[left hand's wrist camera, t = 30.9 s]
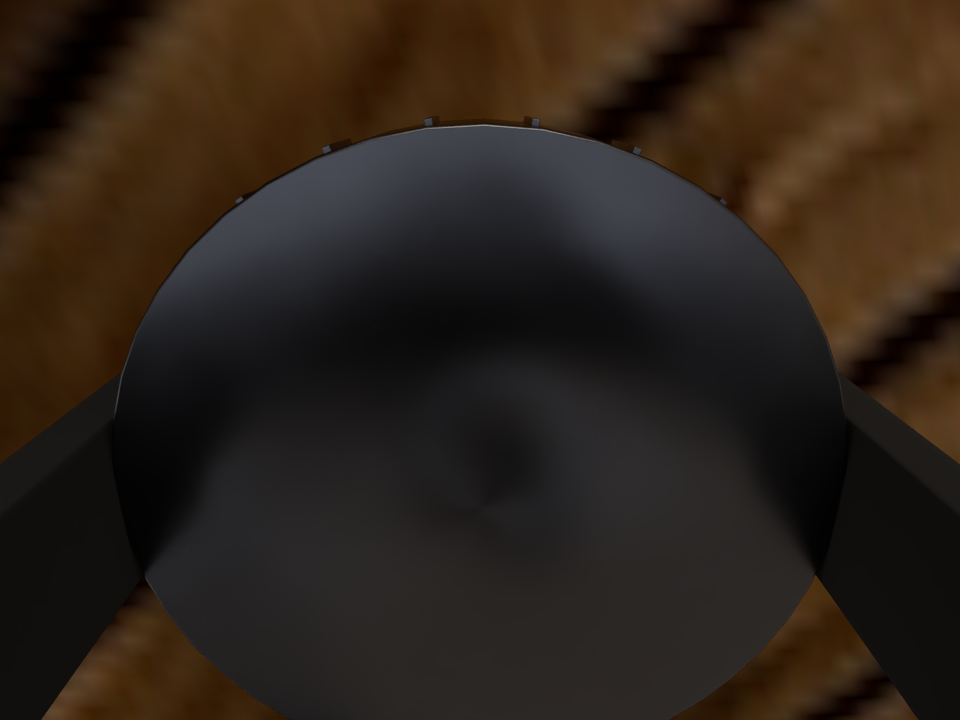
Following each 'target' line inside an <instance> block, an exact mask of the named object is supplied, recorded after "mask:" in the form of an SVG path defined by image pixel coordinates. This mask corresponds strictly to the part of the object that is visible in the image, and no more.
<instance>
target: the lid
mask: <svg viewBox="0 0 960 720" xmlns="http://www.w3.org/2000/svg"><path fill="white" fill-rule="evenodd" d="M322 150H323V152H324V154H322V155H319V156H316V157H314V158H312V159H311V160H309V161H307V162H305V163H303V164H301V165H299V166H297V167H295V168H293V169H291V170H289V171H288V172H286V173H284V174H282V175H280V176H278V177H276V178H274V179H272V180H270V181H268V182H267V183H265V184H264V185H263V186H261V187H260V188H258V189H257V190H254V191H252V192H249V193H247V194H244V195H242V196H240V197H239V198H237V199H236V200H235V201H236V202H237V204H236V205H235V206H234V207H232V208H231V209H229V210H228V211H227V212H225V213H224V214H223V215H222V216H221V217H220V218H219V219H218V220H217V221H216V222H215V223H214V224H213V225H212V226H211V227H210V228H209V229H208V230H207V231H206V232H205V233H204V234H203V235H202V236H201V237H200V238H199V239H198V240H197V241H195V242H194V243H193V244H192V245H191V246H190V247H189V248H188V249H187V251H186V252H185V253H184V255H183V256H182V257H181V259H180V260H179V261H178V263H177V264H176V265H175V266H174V267H173V269H172V271H171V272H170V273H169V275H168V276H167V277H166V279H165V280H164V281H163V283H162V284H161V286H160V287H159V288H158V290H157V292H156V293H155V295H154V297H153V299H152V301H151V303H150V305H149V307H148V309H147V311H146V312H145V314H144V316H143V318H142V320H141V322H140V324H139V326H138V328H137V330H136V332H135V334H134V337H133V340H132V343H131V346H130V349H129V352H128V355H127V358H126V361H125V364H124V367H123V370H122V373H121V377H120V383H119V388H118V394H117V400H116V406H115V412H114V417H113V469H114V476H115V482H116V487H117V492H118V497H119V502H120V506H121V511H122V515H123V519H124V523H125V527H126V531H127V535H128V539H129V542H130V545H131V547H132V549H133V551H134V554H135V556H136V558H137V560H138V563H139V565H140V567H141V569H142V572H143V574H144V576H145V578H146V580H147V582H148V584H149V585H150V587H151V588H152V590H153V592H154V593H155V595H156V596H157V598H158V600H159V601H160V603H161V604H162V606H163V608H164V609H165V611H166V613H167V614H168V615H169V617H170V618H171V619H172V620H173V622H174V623H175V624H176V625H177V626H178V628H179V629H180V630H181V631H182V633H183V634H184V635H185V636H186V638H187V639H188V640H189V641H190V642H191V644H192V645H193V646H194V647H195V648H196V649H197V650H198V651H199V652H200V653H201V654H202V655H203V656H204V657H205V658H206V659H208V660H209V661H210V662H211V663H212V664H213V665H214V666H215V667H216V668H217V669H218V670H219V671H220V672H221V673H222V674H223V675H225V676H226V677H227V678H229V679H230V680H231V681H233V682H234V683H235V684H236V685H238V686H239V687H240V688H242V689H243V690H244V691H246V692H247V693H248V694H250V695H251V696H252V697H254V698H255V699H257V700H259V701H260V702H262V703H263V704H265V705H267V706H268V707H270V708H272V709H273V710H275V711H277V712H278V713H280V714H282V715H283V716H285V717H287V718H289V719H291V720H669V719H671V718H672V717H674V716H676V715H678V714H679V713H681V712H683V711H684V710H686V709H688V708H689V707H691V706H693V705H695V704H696V703H698V702H700V701H701V700H703V699H704V698H706V697H707V696H708V695H710V694H711V693H712V692H714V691H715V690H716V689H718V688H719V687H720V686H722V685H723V684H724V683H726V682H727V681H728V680H730V679H731V678H732V677H734V676H735V675H736V674H737V673H738V672H739V671H740V670H741V669H742V668H743V667H745V666H746V665H747V664H748V663H749V662H750V661H751V660H752V659H753V658H754V657H755V656H756V655H757V654H758V653H759V652H761V651H762V650H763V649H764V647H765V646H766V645H767V644H768V643H769V641H770V640H771V639H772V638H773V637H774V636H775V634H776V633H777V632H778V631H779V630H780V628H781V627H782V626H783V625H784V624H785V622H786V621H787V620H788V619H789V617H790V616H791V614H792V613H793V611H794V610H795V608H796V607H797V605H798V604H799V602H800V600H801V599H802V597H803V596H804V594H805V593H806V591H807V590H808V588H809V587H810V585H811V583H812V581H813V579H814V577H815V574H816V572H817V570H818V568H819V566H820V564H821V562H822V560H823V558H824V555H825V553H826V551H827V549H828V546H829V543H830V540H831V536H832V532H833V528H834V524H835V520H836V516H837V512H838V507H839V503H840V498H841V493H842V488H843V483H844V479H845V474H846V469H847V422H846V415H845V409H844V402H843V395H842V388H841V382H840V378H839V375H838V372H837V368H836V365H835V362H834V359H833V356H832V352H831V349H830V346H829V343H828V340H827V337H826V335H825V333H824V331H823V329H822V327H821V325H820V323H819V321H818V319H817V317H816V315H815V313H814V311H813V309H812V307H811V305H810V303H809V301H808V299H807V297H806V295H805V293H804V292H803V291H802V289H801V288H800V286H799V285H798V284H797V282H796V281H795V279H794V278H793V276H792V275H791V274H790V272H789V271H788V269H787V268H786V267H785V265H784V264H783V262H782V261H781V260H780V258H779V257H778V255H777V254H776V253H775V252H774V251H773V250H772V249H771V248H770V247H769V246H768V245H767V244H766V243H765V242H764V241H763V240H762V239H761V238H760V237H759V236H758V235H757V234H756V233H755V232H754V231H753V230H752V229H751V227H750V226H749V225H748V224H747V223H746V222H745V221H744V220H743V219H742V218H740V217H739V216H738V215H736V214H735V213H734V212H732V211H731V210H730V209H729V208H727V207H726V206H725V205H726V204H727V202H726V201H725V200H724V199H722V198H720V197H718V196H715V195H713V194H710V193H708V192H706V191H705V190H704V189H702V188H701V187H700V186H698V185H696V184H694V183H692V182H691V181H689V180H687V179H685V178H683V177H681V176H680V175H678V174H676V173H674V172H672V171H671V170H669V169H667V168H665V167H663V166H662V165H660V164H658V163H656V162H654V161H652V160H650V159H647V158H645V157H642V156H639V155H640V153H641V151H642V149H640V148H638V147H636V146H632V145H629V144H626V143H622V142H619V141H615V140H613V141H612V143H611V145H610V144H608V143H605V142H602V141H600V140H597V139H594V138H591V137H588V136H585V135H582V134H579V133H575V132H571V131H566V130H562V129H557V128H553V127H548V126H544V125H540V119H536V118H533V117H529V116H524V122H517V121H505V120H493V119H471V120H454V121H440V120H439V116H432V117H429V118H426V119H424V124H422V125H417V126H412V127H407V128H402V129H397V130H392V131H388V132H385V133H382V134H379V135H376V136H373V137H370V138H368V139H365V140H362V141H359V142H356V143H353V144H352V142H351V139H346V140H343V141H340V142H336V143H333V144H329V145H327V146H324V147H322Z"/></svg>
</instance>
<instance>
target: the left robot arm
mask: <svg viewBox="0 0 960 720" xmlns="http://www.w3.org/2000/svg"><path fill="white" fill-rule="evenodd" d="M121 373H122V372H121ZM121 373H120V374H118V375H117V376H116V377H114V378H113V379H112V380H110V381H109V382H108V383H107V384H105V385H104V386H103V387H101V388H100V389H99V390H97V391H96V392H95V393H93V394H92V395H91V396H89V397H88V398H87V399H85V400H84V401H83V402H81V403H80V404H79V405H77V406H76V407H75V408H74V409H72V410H71V411H70V412H68V413H67V414H66V415H64V416H63V417H62V418H60V419H59V420H58V421H56V422H55V423H54V424H52V425H51V426H50V427H48V428H47V429H46V430H45V431H43V432H42V433H41V434H39V435H38V436H37V437H35V438H34V439H33V440H31V441H30V442H29V443H27V444H26V445H25V446H23V447H22V448H21V449H19V450H18V451H17V452H16V453H14V454H13V455H12V456H10V457H9V458H8V459H6V460H5V461H4V462H2V463H1V464H0V720H41V719H42V718H43V716H44V715H45V713H46V712H47V711H48V709H49V708H50V706H51V705H52V703H53V702H54V701H55V699H56V698H57V696H58V695H59V694H60V692H61V691H62V689H63V688H64V687H65V685H66V684H67V682H68V681H69V679H70V678H71V677H72V675H73V674H74V672H75V671H76V670H77V668H78V667H79V665H80V664H81V663H82V661H83V660H84V658H85V657H86V655H87V654H88V653H89V651H90V650H91V648H92V647H93V646H94V644H95V643H96V641H97V640H98V639H99V637H100V636H101V634H102V633H103V631H104V630H105V629H106V627H107V626H108V624H109V623H110V622H111V620H112V619H113V617H114V616H115V615H116V613H117V612H118V610H119V609H120V607H121V606H122V605H123V603H124V602H125V600H126V599H127V598H128V596H129V595H130V593H131V592H132V591H133V589H134V588H135V586H136V585H137V583H138V582H139V581H140V579H141V578H142V576H143V575H144V574H143V572H142V569H141V567H140V565H139V563H138V560H137V558H136V556H135V554H134V551H133V549H132V547H131V545H130V542H129V539H128V535H127V531H126V527H125V523H124V519H123V515H122V511H121V506H120V502H119V497H118V492H117V487H116V482H115V476H114V469H113V417H114V412H115V406H116V400H117V394H118V388H119V383H120V377H121ZM838 375H839V378H840V382H841V388H842V395H843V402H844V409H845V415H846V422H847V469H846V474H845V479H844V483H843V488H842V493H841V498H840V503H839V507H838V512H837V516H836V520H835V524H834V528H833V532H832V536H831V540H830V543H829V546H828V549H827V551H826V553H825V555H824V558H823V560H822V562H821V564H820V566H819V568H818V570H817V572H816V576H817V577H818V578H819V580H820V581H821V583H822V584H823V586H824V587H825V588H826V590H827V591H828V593H829V594H830V595H831V597H832V598H833V600H834V601H835V602H836V604H837V605H838V607H839V608H840V610H841V611H842V612H843V614H844V615H845V617H846V618H847V619H848V621H849V622H850V624H851V625H852V626H853V628H854V629H855V631H856V632H857V634H858V635H859V636H860V638H861V639H862V641H863V642H864V643H865V645H866V646H867V648H868V649H869V650H870V652H871V653H872V655H873V656H874V658H875V659H876V660H877V662H878V663H879V665H880V666H881V667H882V669H883V670H884V672H885V673H886V674H887V676H888V677H889V679H890V680H891V682H892V683H893V684H894V686H895V687H896V689H897V690H898V691H899V693H900V694H901V696H902V697H903V698H904V700H905V701H906V703H907V704H908V706H909V707H910V708H911V710H912V711H913V713H914V714H915V715H916V717H917V718H918V720H960V464H958V463H957V462H956V461H955V460H953V459H952V458H951V457H949V456H948V455H947V454H945V453H944V452H943V451H941V450H940V449H939V448H937V447H936V446H935V445H933V444H932V443H931V442H929V441H928V440H927V439H926V438H924V437H923V436H922V435H920V434H919V433H918V432H916V431H915V430H914V429H912V428H911V427H910V426H908V425H907V424H906V423H904V422H903V421H902V420H900V419H899V418H898V417H897V416H895V415H894V414H893V413H891V412H890V411H889V410H887V409H886V408H885V407H883V406H882V405H881V404H879V403H878V402H877V401H875V400H874V399H873V398H871V397H870V396H869V395H868V394H866V393H865V392H864V391H862V390H861V389H860V388H858V387H857V386H856V385H854V384H853V383H852V382H850V381H849V380H848V379H846V378H845V377H844V376H842V375H841V374H840V373H839V372H838Z"/></svg>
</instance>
